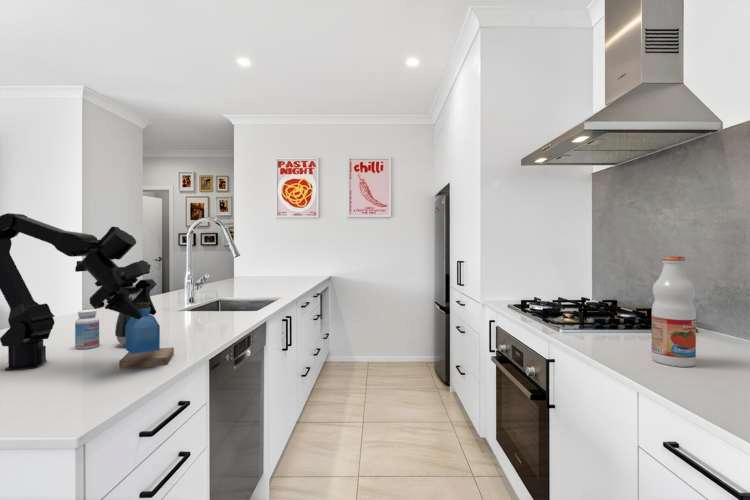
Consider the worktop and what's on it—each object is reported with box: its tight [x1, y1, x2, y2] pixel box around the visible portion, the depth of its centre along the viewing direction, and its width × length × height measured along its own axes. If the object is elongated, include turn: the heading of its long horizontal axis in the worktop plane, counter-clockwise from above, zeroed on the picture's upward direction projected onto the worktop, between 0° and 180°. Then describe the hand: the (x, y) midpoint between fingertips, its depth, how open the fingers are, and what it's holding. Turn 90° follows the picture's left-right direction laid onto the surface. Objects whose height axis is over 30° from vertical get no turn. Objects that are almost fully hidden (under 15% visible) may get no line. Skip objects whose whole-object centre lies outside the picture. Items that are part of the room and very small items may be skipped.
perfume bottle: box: [125, 302, 161, 354], centre depth 103 cm, size 6×6×12 cm
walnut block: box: [118, 346, 175, 370], centre depth 109 cm, size 11×11×2 cm
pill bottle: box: [74, 309, 100, 350], centre depth 124 cm, size 6×6×11 cm
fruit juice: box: [650, 255, 697, 368], centre depth 106 cm, size 9×9×28 cm
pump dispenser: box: [114, 297, 137, 347], centre depth 127 cm, size 10×10×15 cm
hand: (148, 316), depth 103 cm, fingers closed on perfume bottle, 6 cm apart
